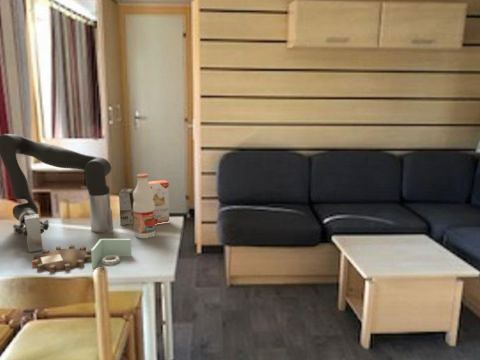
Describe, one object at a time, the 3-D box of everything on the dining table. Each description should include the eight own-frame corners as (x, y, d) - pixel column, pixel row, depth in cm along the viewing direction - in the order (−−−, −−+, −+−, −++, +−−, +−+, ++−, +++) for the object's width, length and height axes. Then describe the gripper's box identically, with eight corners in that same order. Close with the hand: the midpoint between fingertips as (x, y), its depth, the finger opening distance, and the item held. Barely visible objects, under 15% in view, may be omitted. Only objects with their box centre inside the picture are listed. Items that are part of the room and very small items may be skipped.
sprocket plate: (85, 246, 187) (85, 242, 187) (98, 264, 169) (97, 259, 169) (29, 256, 176) (28, 251, 176) (36, 277, 158) (35, 271, 158)
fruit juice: (139, 230, 207) (137, 171, 200) (159, 232, 205) (156, 172, 198) (130, 237, 198) (127, 176, 191) (150, 239, 196) (148, 177, 189)
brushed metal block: (41, 245, 186) (37, 213, 183) (42, 249, 182) (39, 217, 179) (27, 248, 184) (24, 215, 181) (29, 252, 180) (25, 219, 176)
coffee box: (133, 224, 215) (132, 192, 211) (120, 225, 214) (118, 192, 211) (136, 219, 224) (134, 188, 220) (123, 219, 223) (121, 188, 220)
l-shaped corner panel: (92, 269, 167) (90, 250, 165) (101, 256, 178) (100, 238, 177) (124, 269, 167) (123, 250, 165) (131, 256, 179) (130, 238, 177)
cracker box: (142, 228, 211) (140, 185, 206) (138, 224, 216) (136, 182, 211) (170, 223, 217) (168, 181, 213) (165, 220, 222) (164, 179, 218)
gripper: (9, 214, 189) (13, 226, 174) (46, 210, 196) (52, 220, 182) (11, 231, 190) (15, 244, 176) (48, 226, 198) (54, 238, 183)
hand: (34, 232), depth 179 cm, fingers closed on brushed metal block, 5 cm apart
